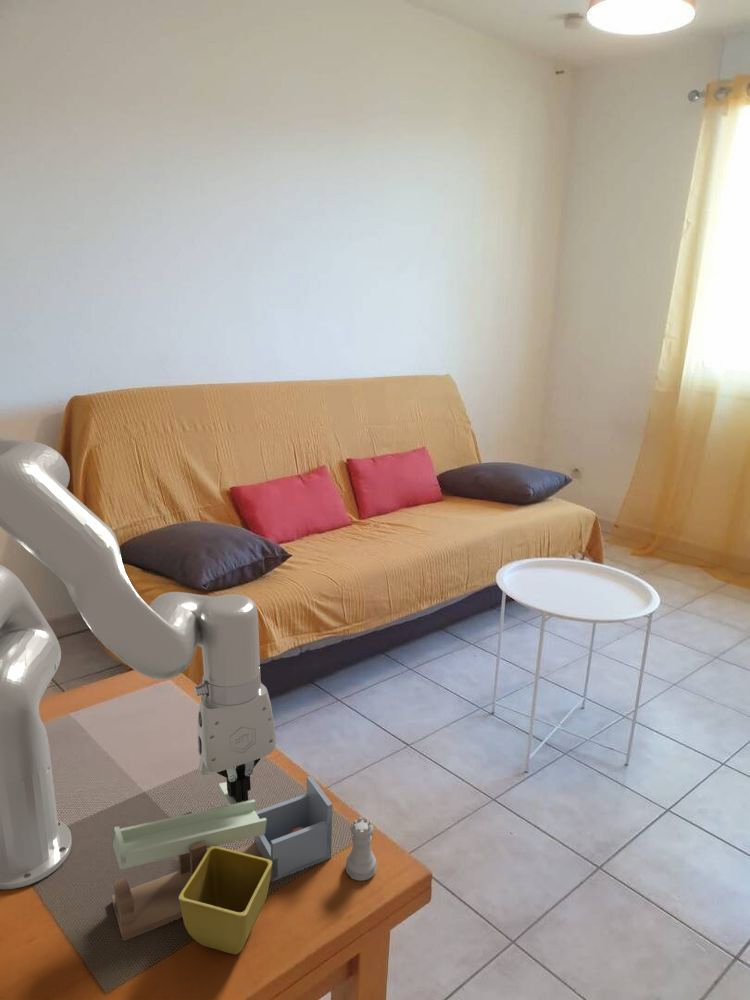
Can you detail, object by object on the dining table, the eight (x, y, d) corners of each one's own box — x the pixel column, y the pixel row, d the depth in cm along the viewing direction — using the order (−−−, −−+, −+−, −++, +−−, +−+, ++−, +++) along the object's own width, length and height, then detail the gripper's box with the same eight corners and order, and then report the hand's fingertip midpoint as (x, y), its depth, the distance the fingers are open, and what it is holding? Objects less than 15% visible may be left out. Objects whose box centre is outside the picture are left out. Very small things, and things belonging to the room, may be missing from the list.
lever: (102, 812, 97) (104, 795, 96) (236, 784, 107) (238, 769, 106) (120, 869, 88) (121, 851, 87) (264, 833, 98) (267, 817, 97)
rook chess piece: (357, 853, 105) (359, 807, 102) (383, 868, 102) (385, 821, 100) (338, 872, 101) (339, 825, 99) (364, 888, 99) (365, 840, 96)
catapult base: (112, 901, 95) (106, 840, 92) (254, 848, 105) (253, 790, 102) (123, 941, 89) (117, 877, 87) (272, 880, 99) (272, 821, 96)
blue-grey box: (254, 847, 105) (253, 794, 102) (310, 826, 109) (311, 775, 107) (273, 881, 99) (272, 825, 96) (331, 857, 104) (332, 804, 101)
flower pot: (244, 975, 86) (244, 916, 83) (178, 955, 88) (176, 897, 85) (272, 915, 94) (273, 860, 91) (211, 898, 96) (210, 844, 93)
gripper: (186, 713, 91) (195, 832, 96) (294, 682, 98) (297, 794, 104) (170, 685, 97) (180, 798, 103) (273, 658, 104) (277, 765, 110)
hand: (239, 796), depth 103 cm, fingers closed
